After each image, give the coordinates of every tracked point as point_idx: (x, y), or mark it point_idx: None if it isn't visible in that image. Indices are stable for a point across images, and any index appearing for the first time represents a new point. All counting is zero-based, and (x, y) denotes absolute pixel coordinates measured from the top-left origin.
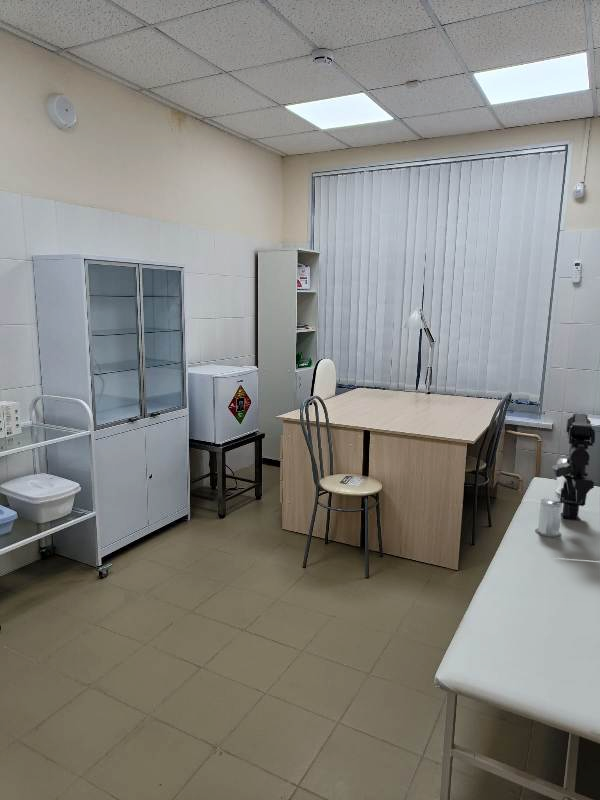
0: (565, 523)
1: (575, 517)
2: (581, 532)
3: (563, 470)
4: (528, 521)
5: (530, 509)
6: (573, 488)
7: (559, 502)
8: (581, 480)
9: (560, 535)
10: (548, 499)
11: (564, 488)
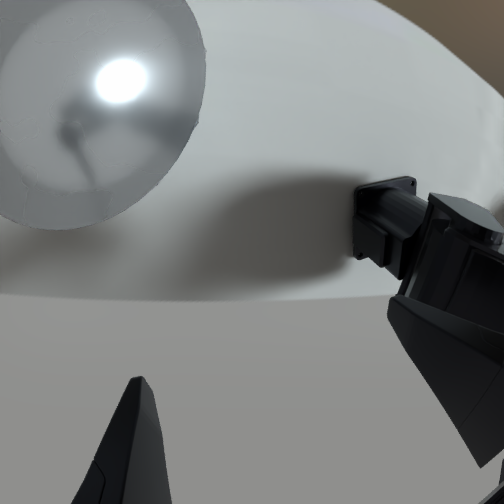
0: (316, 191)
1: (357, 243)
2: (221, 257)
3: None
4: (285, 5)
5: (432, 63)
6: (420, 363)
7: (82, 198)
8: None
9: None
10: (150, 42)
11: (486, 257)
